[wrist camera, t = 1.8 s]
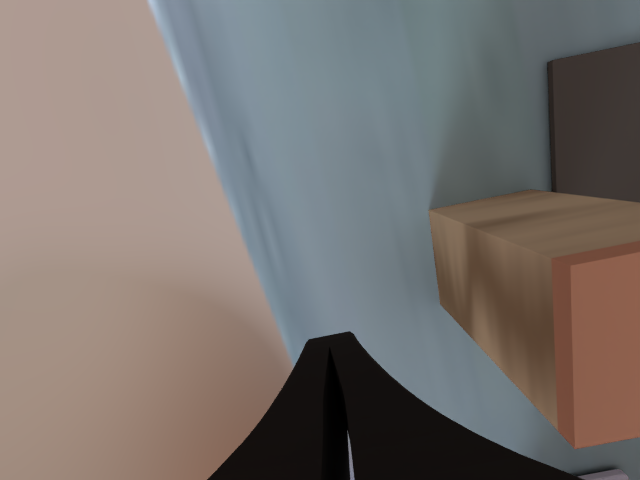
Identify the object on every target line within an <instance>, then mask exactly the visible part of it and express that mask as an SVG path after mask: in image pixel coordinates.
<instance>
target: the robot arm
mask: <svg viewBox="0 0 640 480" xmlns="http://www.w3.org/2000/svg"><path fill="white" fill-rule="evenodd" d="M347 430H348V434H349V438H350V443H351V452H352V460H353V469H354V478H355V480H629V478H628V476H627V475H626V474H625V473H624V472H623V471H622V470H619V469H614V470H609V471H604V472H598V473H593V474H588V475H582V476H574V475H572V474H569V473H566V472H564V471H561V470H559V469H556V468H554V467H551V466H549V465H546V464H543V463H541V462H538V461H536V460H533V459H531V458H528V457H525V456H523V455H521V454H518V453H516V452H514V451H512V450H510V449H507V448H505V447H503V446H501V445H499V444H497V443H495V442H492V441H490V440H488V439H486V438H484V437H482V436H480V435H478V434H476V433H474V432H472V431H471V430H469V429H467V428H465V427H463V426H462V425H460V424H458V423H456V422H455V421H453V420H451V419H449V418H447V417H446V416H444V415H442V414H441V413H439V412H438V411H436V410H435V409H433V408H432V407H430V406H429V405H427V404H426V403H424V402H423V401H422V400H420V399H419V398H417V397H416V396H415V395H413V394H412V393H411V392H409V391H408V390H407V389H406V388H404V387H403V386H402V385H401V384H400V383H398V382H397V381H396V380H395V379H394V378H393V377H391V376H390V375H389V374H388V373H387V372H386V371H385V370H384V369H383V368H382V367H381V366H380V365H379V364H378V363H377V362H376V361H375V360H374V359H373V358H372V357H371V356H370V355H369V354H368V353H367V351H366V350H365V349H364V348H363V347H362V345H361V344H360V343H359V341H358V340H357V339H356V337H355V335H354V334H353V333H351V332H350V331H349V332H344V333H339V334H334V335H329V336H323V337H318V338H313V339H309V340H308V341H307V343H306V344H305V346H304V349H303V351H302V353H301V355H300V357H299V359H298V361H297V363H296V365H295V367H294V369H293V370H292V372H291V374H290V376H289V377H288V379H287V381H286V383H285V385H284V386H283V388H282V390H281V391H280V392H279V394H278V396H277V397H276V399H275V400H274V402H273V403H272V405H271V406H270V408H269V409H268V411H267V412H266V414H265V415H264V416H263V418H262V419H261V421H260V422H259V423H258V424H257V426H256V427H255V428H254V429H253V431H252V432H251V433H250V435H249V436H248V437H247V438H246V439H245V440H244V442H243V443H242V444H241V445H240V446H239V447H238V448H237V449H236V450H235V451H234V452H233V453H232V454H231V455H230V456H229V458H228V459H227V460H226V461H225V462H224V463H223V464H222V465H221V466H220V467H219V468H218V469H217V471H215V472H214V473H213V474H212V475H211V476H210V478H208V479H207V480H350V469H349V451H348V434H347Z"/></svg>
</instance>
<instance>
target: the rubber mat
mask: <svg viewBox="0 0 640 480" xmlns="http://www.w3.org/2000/svg"><path fill="white" fill-rule="evenodd" d="M548 86H549V114H550V142H551V170H552V192H555V193H564V194H572V195H580V196H589V197H597V198H605V199H614V200H622V201H630V202H639V203H640V42H639V43H634V44H630V45H625V46H620V47H615V48H610V49H605V50H600V51H595V52H591V53H586V54H581V55H576V56H571V57H566V58H561V59H556V60H552V61H550V62H548Z"/></svg>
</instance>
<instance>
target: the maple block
mask: <svg viewBox="0 0 640 480" xmlns="http://www.w3.org/2000/svg"><path fill="white" fill-rule="evenodd" d="M429 217H430V225H431V233H432V242H433V250H434V258H435V266H436V274H437V282H438V290H439V299H440V304H441V305H442V307H443V308H444V309H445V310H446V311H447V312H448V313H449V314H450V315H451V316H452V317H453V318H454V319H455V321H456V322H457V323H458V324H459V325H460V326H461V327H462V328H463V329H464V330H465V331H466V332H467V333H468V335H469V336H470V337H471V338H472V339H473V340H474V341H475V342H476V343H477V344H478V345H479V346H480V347H481V349H482V350H483V351H484V352H485V353H486V354H487V355H488V356H489V357H490V358H491V359H492V360H493V361H494V363H495V364H496V365H497V366H498V367H499V368H500V369H501V370H502V371H503V372H504V373H505V374H506V376H507V377H508V378H509V379H510V380H511V381H512V382H513V383H514V384H515V385H516V386H517V387H518V388H519V390H520V391H521V392H522V393H523V394H524V395H525V396H526V397H527V398H528V399H529V400H530V401H531V402H532V404H533V405H534V406H535V407H536V408H537V409H538V410H539V411H540V412H541V413H542V414H543V415H544V416H545V418H546V419H547V420H548V421H549V422H550V423H551V424H552V425H553V426H554V427H555V428H556V429H557V430H558V432H559V433H560V434H561V435H562V436H563V437H564V438H565V439H566V440H567V441H568V442H569V443H570V444H571V446H572V447H573V448H574V449H579V448H584V447H589V446H595V445H600V444H605V443H611V442H616V441H621V440H626V439H632V438H637V437H640V203H639V202H630V201H622V200H614V199H605V198H597V197H589V196H580V195H572V194H564V193H555V192H547V191H539V190H526V191H521V192H516V193H511V194H506V195H501V196H496V197H491V198H486V199H481V200H476V201H471V202H466V203H461V204H456V205H451V206H446V207H441V208H436V209H431V210H429Z"/></svg>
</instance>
